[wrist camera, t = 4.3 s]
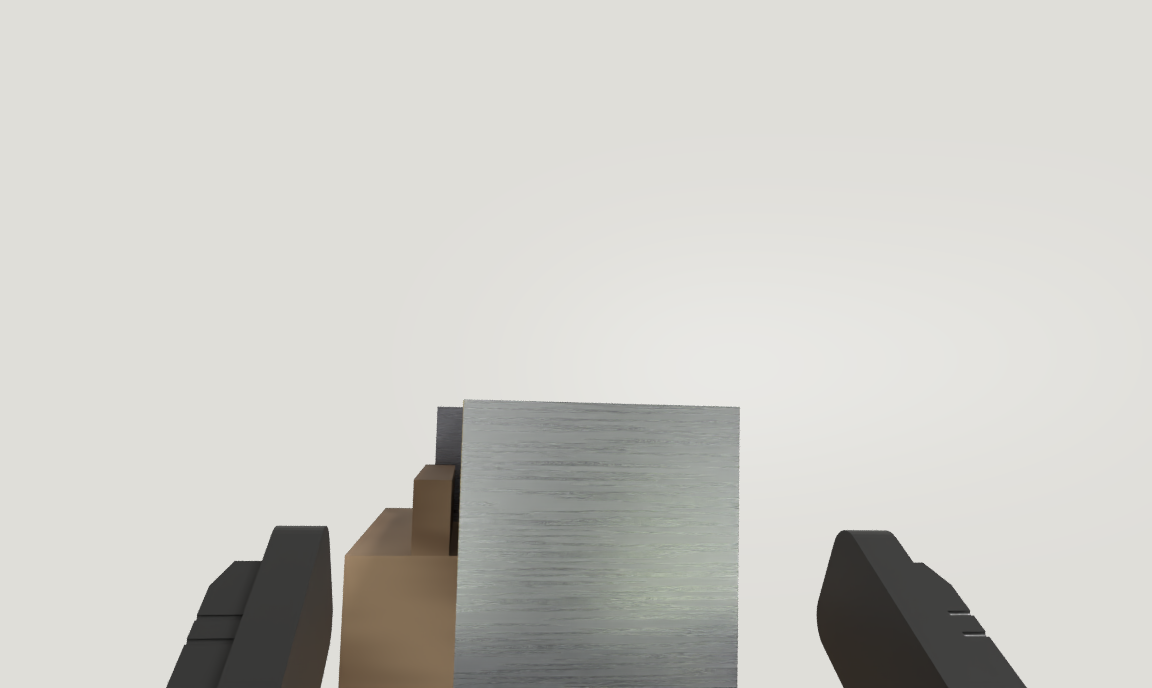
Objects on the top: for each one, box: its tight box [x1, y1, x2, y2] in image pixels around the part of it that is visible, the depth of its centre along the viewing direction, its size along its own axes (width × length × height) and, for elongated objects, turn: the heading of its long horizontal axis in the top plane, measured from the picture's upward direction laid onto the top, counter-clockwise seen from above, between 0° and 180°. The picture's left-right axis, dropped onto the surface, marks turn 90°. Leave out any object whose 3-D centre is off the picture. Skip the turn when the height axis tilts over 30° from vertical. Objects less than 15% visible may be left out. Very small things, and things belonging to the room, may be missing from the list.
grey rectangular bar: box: [435, 400, 740, 688], centre depth 23 cm, size 22×6×4 cm, turn 7°
